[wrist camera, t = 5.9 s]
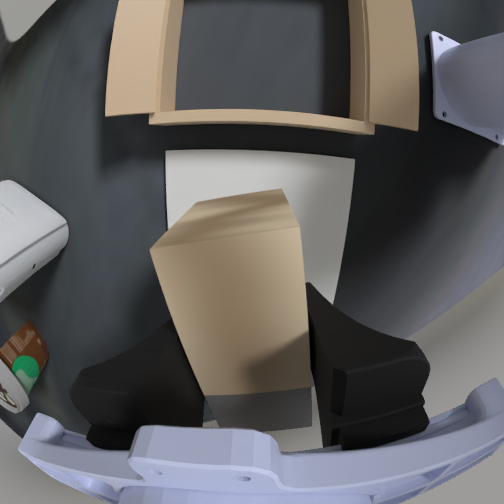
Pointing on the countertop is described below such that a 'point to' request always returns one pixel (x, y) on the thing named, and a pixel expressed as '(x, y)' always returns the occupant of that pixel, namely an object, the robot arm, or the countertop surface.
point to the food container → (21, 366)
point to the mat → (268, 178)
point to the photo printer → (26, 235)
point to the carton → (360, 120)
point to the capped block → (241, 307)
